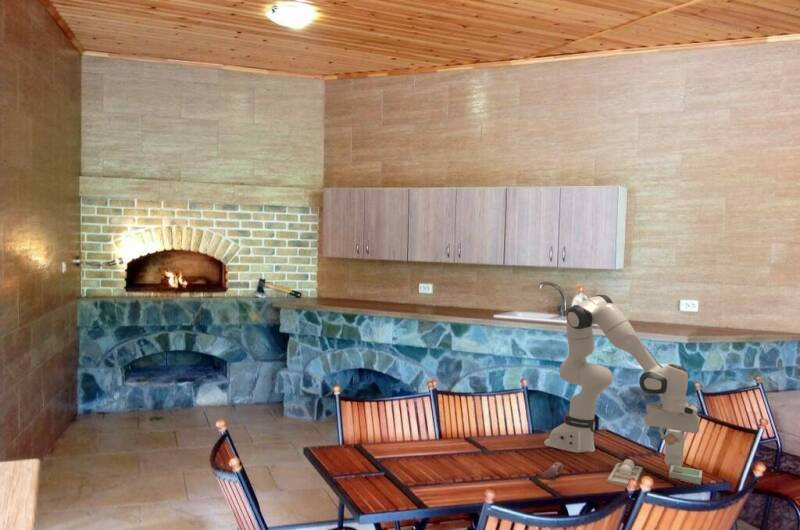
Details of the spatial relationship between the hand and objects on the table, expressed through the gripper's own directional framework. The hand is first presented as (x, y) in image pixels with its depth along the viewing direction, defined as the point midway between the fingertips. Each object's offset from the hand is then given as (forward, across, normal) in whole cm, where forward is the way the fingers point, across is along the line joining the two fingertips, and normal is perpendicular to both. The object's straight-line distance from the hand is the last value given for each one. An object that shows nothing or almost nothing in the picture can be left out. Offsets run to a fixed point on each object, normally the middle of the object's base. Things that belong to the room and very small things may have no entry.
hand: (670, 440), depth 300 cm
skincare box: (+16, 0, +26) cm, 31 cm away
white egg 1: (+15, -15, 0) cm, 21 cm away
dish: (+16, +6, +8) cm, 19 cm away
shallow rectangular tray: (+16, -15, -10) cm, 24 cm away
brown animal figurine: (+16, -39, -27) cm, 51 cm away
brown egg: (+2, 0, 0) cm, 2 cm away
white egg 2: (+15, -15, -10) cm, 23 cm away
